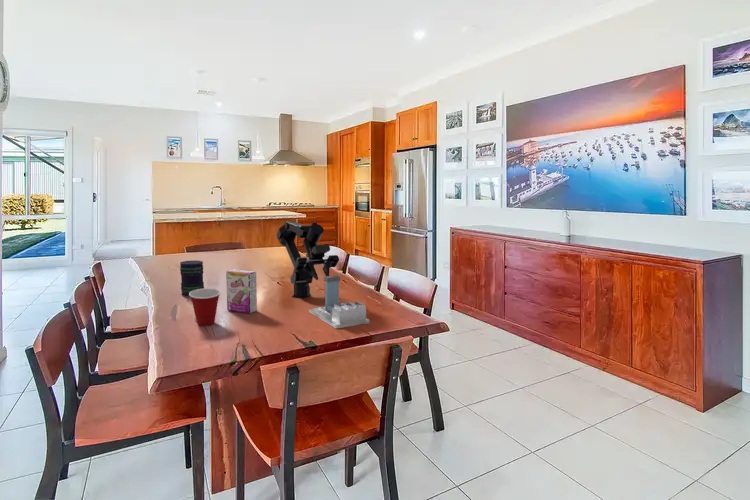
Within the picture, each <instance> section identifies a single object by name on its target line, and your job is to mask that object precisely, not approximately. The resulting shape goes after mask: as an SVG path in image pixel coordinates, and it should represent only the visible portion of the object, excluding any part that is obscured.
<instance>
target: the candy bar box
mask: <svg viewBox="0 0 750 500" xmlns="http://www.w3.org/2000/svg"><path fill="white" fill-rule="evenodd" d="M225 275H226V277H225V278H226V305H227V307H226V308H227V311H229V312H235V313H236V312H237V313H243V314H244V313H245V314H253V313H254V312H257V310H258V300H257V292H258V291H257V271H253V270H243V269H234V268H233V269H229V270H226V274H225Z"/></svg>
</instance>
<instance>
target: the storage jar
mask: <svg viewBox="0 0 750 500" xmlns="http://www.w3.org/2000/svg"><path fill="white" fill-rule="evenodd" d="M179 270H180V276H181V283H180V290H181V296H182V297H187V298H188V297H189V298H191V297H190V296H189V292H191V291H193V290H197V289H205V282H204V261H203V260H184V261H180V262H179Z"/></svg>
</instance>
